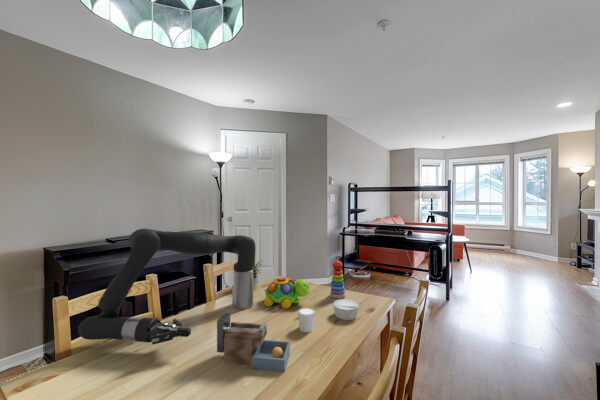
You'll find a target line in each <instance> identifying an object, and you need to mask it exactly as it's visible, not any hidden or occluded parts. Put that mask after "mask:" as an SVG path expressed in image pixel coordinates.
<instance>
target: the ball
mask: <svg viewBox="0 0 600 400" xmlns="http://www.w3.org/2000/svg"><path fill="white" fill-rule="evenodd" d="M282 355H283V351H282V349H281V348H280V347H275V348H274V349H273V350H272V356H273V358H281V357H282Z"/></svg>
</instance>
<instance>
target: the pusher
mask: <svg viewBox="0 0 600 400" xmlns="http://www.w3.org/2000/svg"><path fill="white" fill-rule="evenodd" d="M260 324H261V326H260V329H254V328H238V327H231V312H224V313H223V314H222V315H221V316H220V317H219V318H218V319H217V321H216V352H217V353H223V354H224V337H225V330H240V331H256V332H262V337H263V335H264V333H265V324H266V322H261V323H260Z"/></svg>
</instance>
